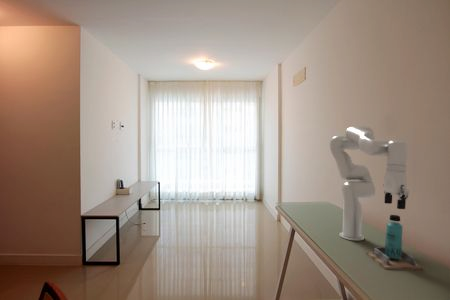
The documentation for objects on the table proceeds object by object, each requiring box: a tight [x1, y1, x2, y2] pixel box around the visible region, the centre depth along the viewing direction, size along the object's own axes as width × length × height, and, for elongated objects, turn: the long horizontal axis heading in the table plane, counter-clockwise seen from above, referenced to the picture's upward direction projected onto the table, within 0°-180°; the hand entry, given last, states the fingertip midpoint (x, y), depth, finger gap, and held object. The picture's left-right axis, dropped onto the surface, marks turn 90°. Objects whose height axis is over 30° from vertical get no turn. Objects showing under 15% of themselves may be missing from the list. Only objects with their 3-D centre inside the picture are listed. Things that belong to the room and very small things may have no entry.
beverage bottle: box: [384, 214, 404, 259], centre depth 123 cm, size 6×7×20 cm
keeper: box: [365, 246, 424, 271], centre depth 123 cm, size 16×16×4 cm
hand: (394, 205), depth 123 cm, fingers open, 9 cm apart
